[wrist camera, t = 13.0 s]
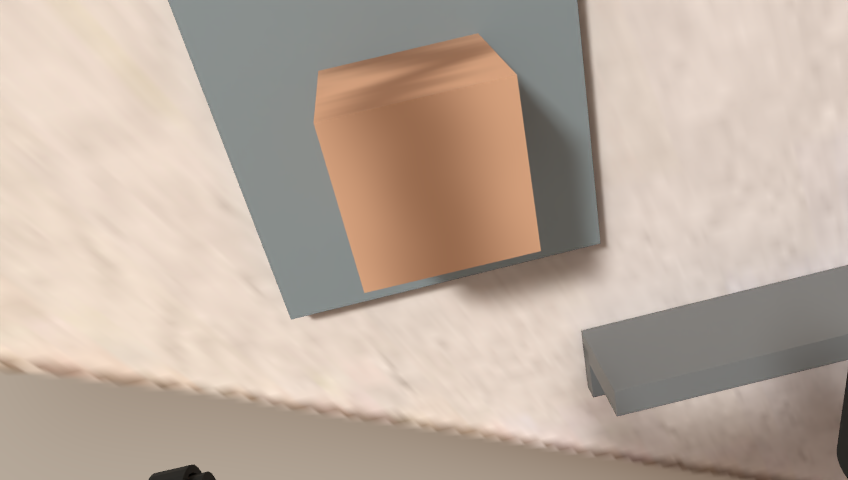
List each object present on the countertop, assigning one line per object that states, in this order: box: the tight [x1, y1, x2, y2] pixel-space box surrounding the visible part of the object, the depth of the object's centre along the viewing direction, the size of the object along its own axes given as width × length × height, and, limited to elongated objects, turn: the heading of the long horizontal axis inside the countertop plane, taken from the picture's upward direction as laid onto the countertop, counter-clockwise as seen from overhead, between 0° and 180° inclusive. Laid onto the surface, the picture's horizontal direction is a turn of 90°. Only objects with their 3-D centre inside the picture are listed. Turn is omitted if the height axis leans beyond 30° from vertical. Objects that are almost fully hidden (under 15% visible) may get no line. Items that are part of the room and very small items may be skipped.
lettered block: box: [314, 33, 541, 293], centre depth 23 cm, size 6×6×6 cm
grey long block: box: [581, 265, 848, 416], centre depth 32 cm, size 14×4×4 cm, turn 102°
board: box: [168, 0, 600, 319], centre depth 26 cm, size 14×14×1 cm
